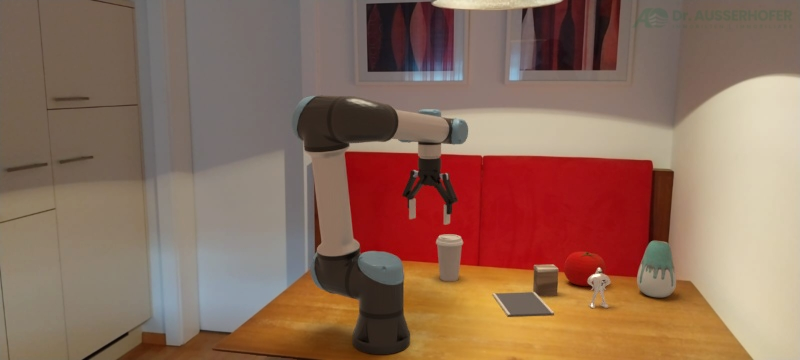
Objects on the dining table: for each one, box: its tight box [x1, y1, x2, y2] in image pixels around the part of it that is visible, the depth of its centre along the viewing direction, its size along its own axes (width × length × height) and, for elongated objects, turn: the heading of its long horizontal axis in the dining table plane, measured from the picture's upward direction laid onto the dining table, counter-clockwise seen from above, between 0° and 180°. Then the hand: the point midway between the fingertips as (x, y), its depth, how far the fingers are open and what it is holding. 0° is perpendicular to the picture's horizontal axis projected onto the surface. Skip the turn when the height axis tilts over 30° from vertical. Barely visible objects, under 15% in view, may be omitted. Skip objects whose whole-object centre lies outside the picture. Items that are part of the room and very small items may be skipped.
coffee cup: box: [435, 233, 464, 282], centre depth 206 cm, size 10×10×15 cm
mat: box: [492, 291, 555, 318], centre depth 182 cm, size 18×14×1 cm
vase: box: [636, 240, 677, 299], centre depth 190 cm, size 12×12×18 cm
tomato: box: [563, 251, 606, 287], centre depth 200 cm, size 12×14×12 cm
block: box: [532, 264, 559, 297], centre depth 191 cm, size 5×7×9 cm
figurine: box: [587, 268, 611, 309], centre depth 180 cm, size 7×4×12 cm, turn 94°
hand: (429, 221), depth 194 cm, fingers open, 13 cm apart
